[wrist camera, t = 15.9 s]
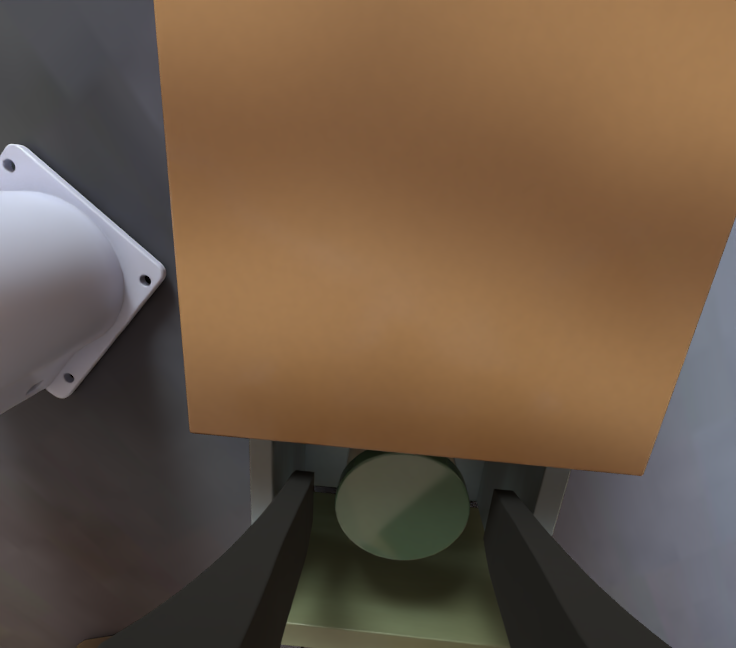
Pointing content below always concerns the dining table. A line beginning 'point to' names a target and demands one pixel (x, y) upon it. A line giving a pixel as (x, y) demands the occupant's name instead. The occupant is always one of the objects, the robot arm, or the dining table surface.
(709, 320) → the dining table surface
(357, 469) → the jar
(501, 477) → the green drawer
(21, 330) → the robot arm
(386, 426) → the wooden drawer box
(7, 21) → the dining table surface
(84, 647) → the beer bottle
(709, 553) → the dining table surface
